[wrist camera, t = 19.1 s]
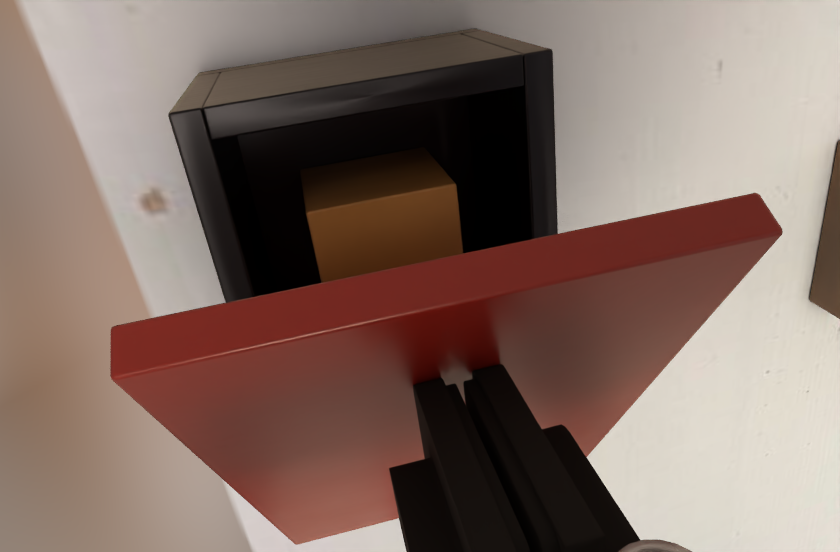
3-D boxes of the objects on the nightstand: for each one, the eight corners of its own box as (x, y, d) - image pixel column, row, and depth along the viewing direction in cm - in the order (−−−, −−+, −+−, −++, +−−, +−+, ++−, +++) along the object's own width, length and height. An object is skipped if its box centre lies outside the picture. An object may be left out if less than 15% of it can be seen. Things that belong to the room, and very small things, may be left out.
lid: (108, 324, 8) (107, 379, 8) (759, 190, 10) (787, 231, 9) (291, 520, 21) (294, 545, 20) (565, 450, 22) (574, 472, 22)
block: (299, 168, 22) (305, 212, 18) (424, 146, 23) (456, 183, 19) (324, 282, 24) (334, 343, 20) (438, 258, 25) (470, 313, 21)
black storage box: (197, 72, 21) (166, 113, 15) (476, 28, 22) (553, 48, 16) (288, 399, 27) (292, 521, 21) (502, 350, 28) (564, 452, 22)
